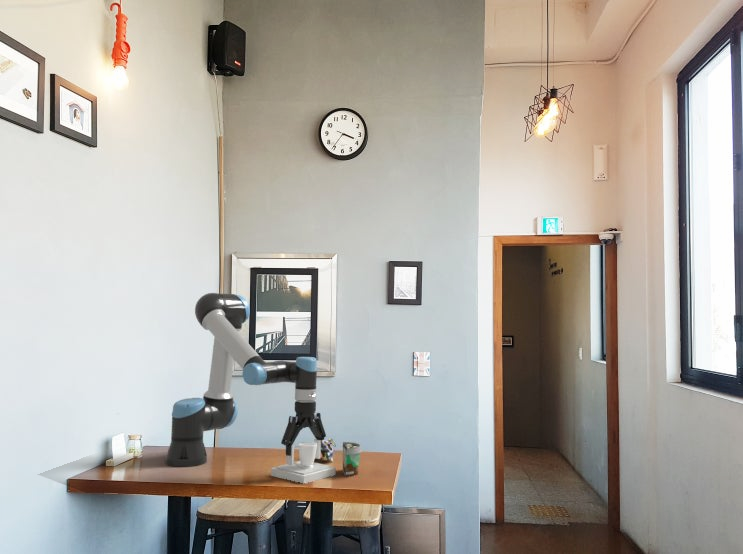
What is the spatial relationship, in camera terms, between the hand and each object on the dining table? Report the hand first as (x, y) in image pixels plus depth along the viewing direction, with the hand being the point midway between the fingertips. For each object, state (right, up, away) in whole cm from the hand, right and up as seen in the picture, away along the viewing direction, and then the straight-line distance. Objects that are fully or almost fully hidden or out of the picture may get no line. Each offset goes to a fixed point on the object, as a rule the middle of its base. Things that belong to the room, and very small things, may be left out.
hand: (303, 461), depth 212 cm
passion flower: (+4, -7, +21) cm, 23 cm away
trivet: (0, -5, 0) cm, 5 cm away
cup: (0, -2, -1) cm, 2 cm away
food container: (+17, -6, +4) cm, 18 cm away
